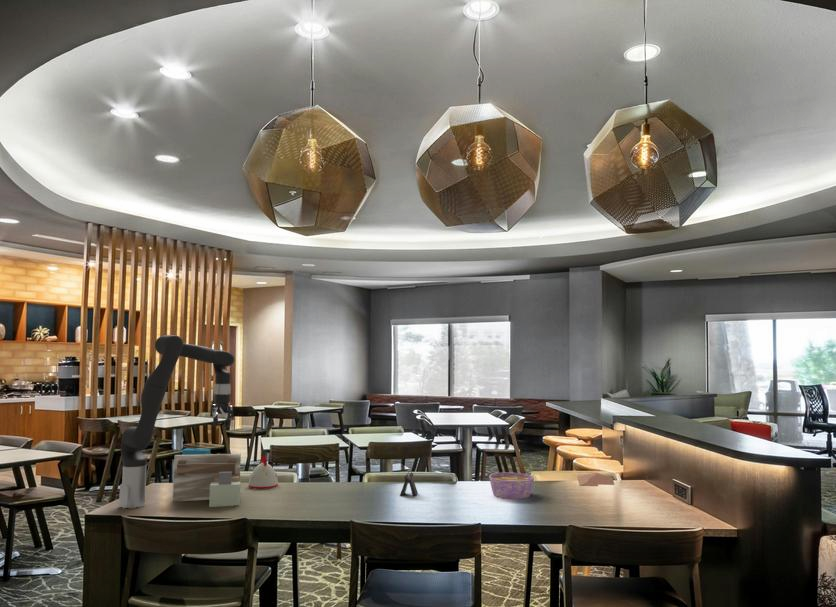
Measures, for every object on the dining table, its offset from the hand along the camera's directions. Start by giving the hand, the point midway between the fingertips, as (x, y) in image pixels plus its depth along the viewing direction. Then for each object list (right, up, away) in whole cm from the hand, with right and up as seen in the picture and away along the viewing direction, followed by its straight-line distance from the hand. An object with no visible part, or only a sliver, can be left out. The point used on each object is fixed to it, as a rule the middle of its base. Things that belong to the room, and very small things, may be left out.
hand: (221, 426), depth 310 cm
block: (-8, -28, -14) cm, 33 cm away
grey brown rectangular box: (+2, -27, -28) cm, 39 cm away
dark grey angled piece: (+91, -29, -23) cm, 98 cm away
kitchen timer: (+20, -30, +1) cm, 36 cm away
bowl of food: (+137, -29, -26) cm, 142 cm away
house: (+183, -32, +4) cm, 186 cm away
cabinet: (+13, -27, -36) cm, 47 cm away
